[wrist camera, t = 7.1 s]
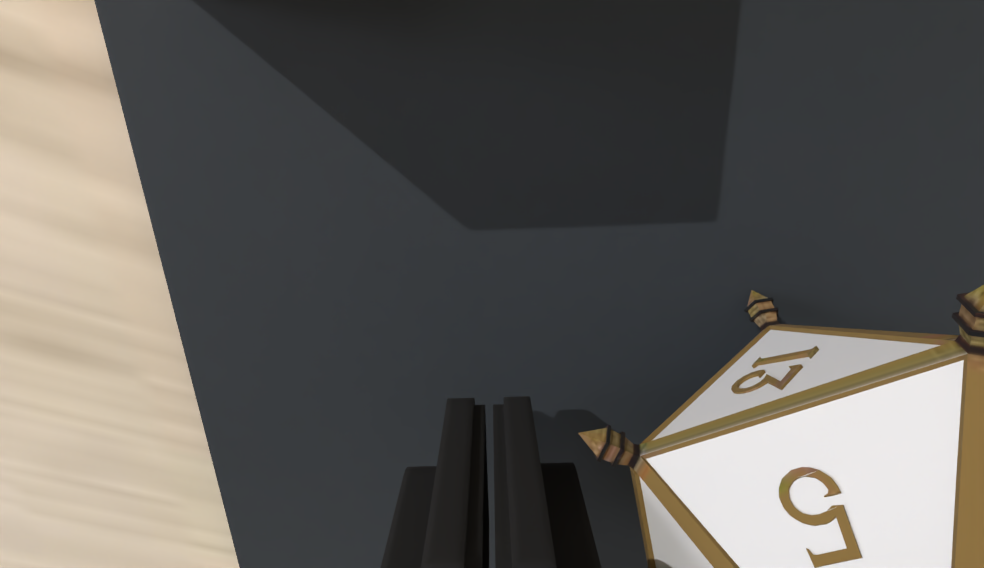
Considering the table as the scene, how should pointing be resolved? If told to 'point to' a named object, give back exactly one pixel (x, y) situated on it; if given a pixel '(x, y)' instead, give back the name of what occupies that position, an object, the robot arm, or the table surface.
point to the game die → (820, 452)
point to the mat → (526, 221)
